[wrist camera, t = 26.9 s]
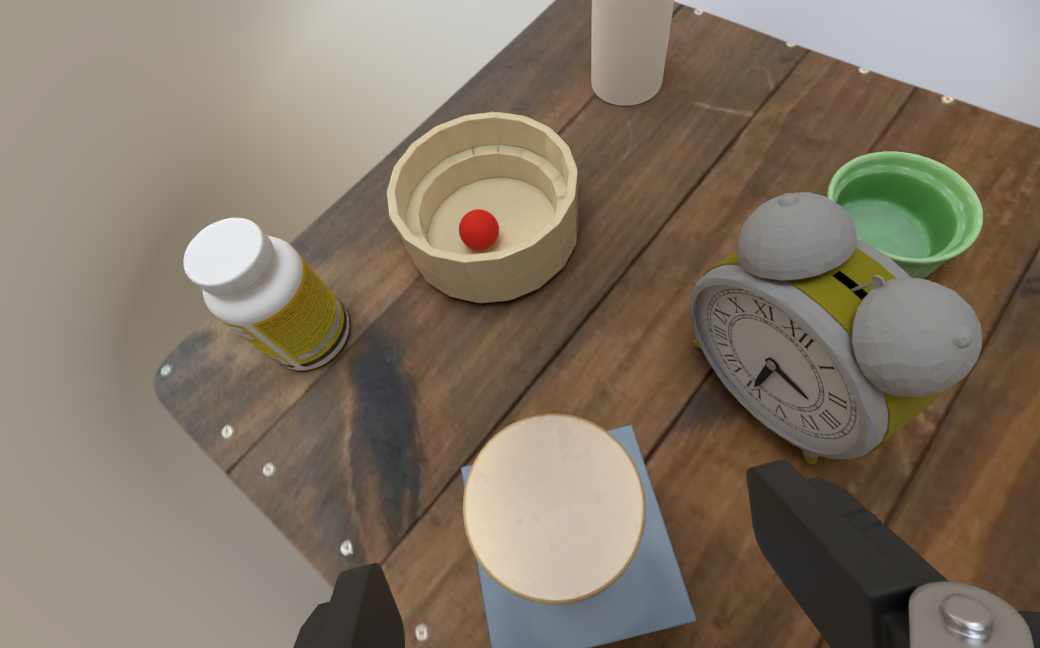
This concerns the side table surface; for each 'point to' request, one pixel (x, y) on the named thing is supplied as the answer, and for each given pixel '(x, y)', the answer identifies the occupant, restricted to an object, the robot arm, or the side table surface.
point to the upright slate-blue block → (611, 613)
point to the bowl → (487, 204)
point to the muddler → (554, 508)
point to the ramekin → (908, 208)
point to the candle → (629, 49)
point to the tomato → (478, 229)
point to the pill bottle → (267, 293)
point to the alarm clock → (828, 330)
